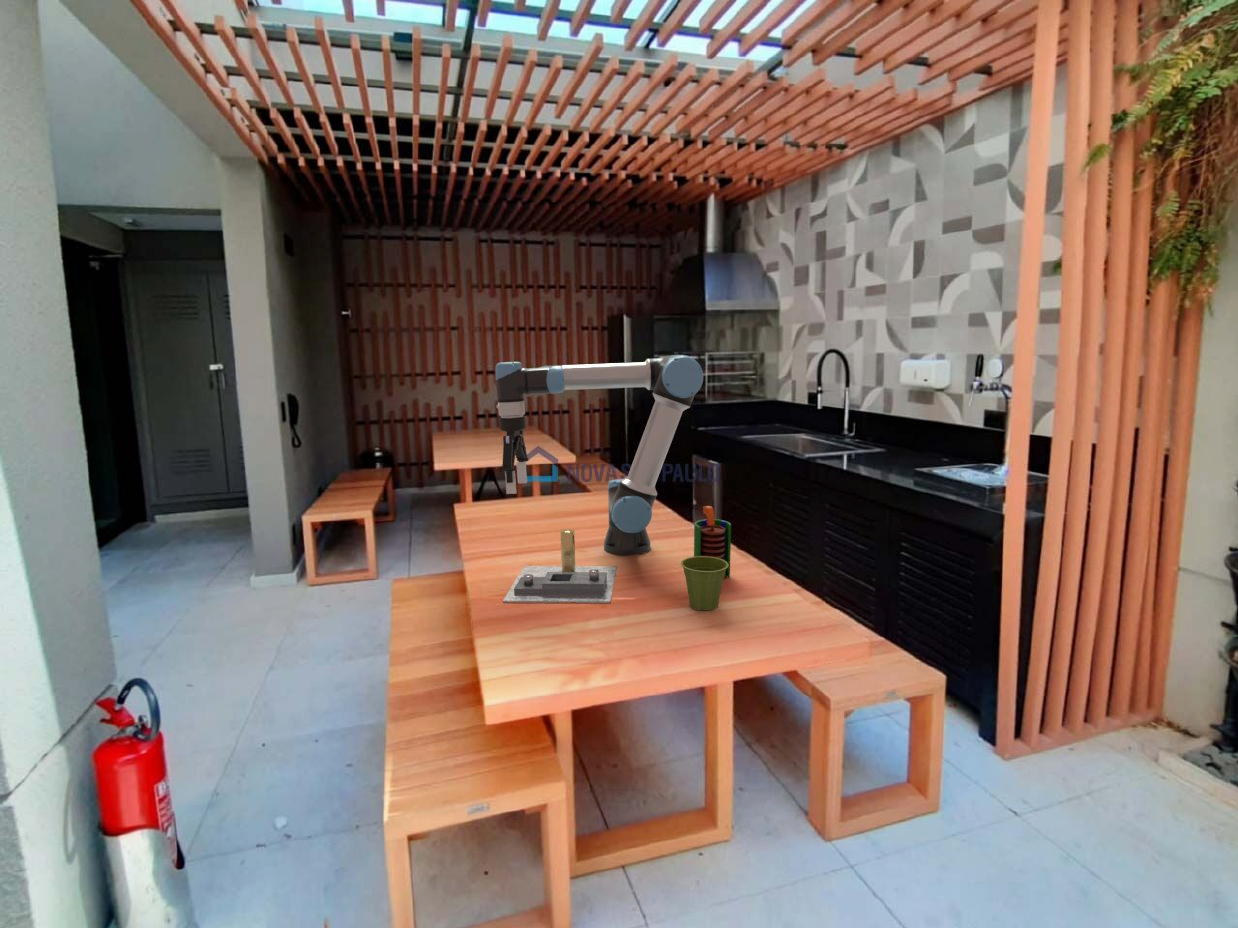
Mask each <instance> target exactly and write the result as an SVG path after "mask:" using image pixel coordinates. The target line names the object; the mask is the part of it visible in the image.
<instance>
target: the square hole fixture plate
mask: <svg viewBox="0 0 1238 928" xmlns="http://www.w3.org/2000/svg"><path fill="white" fill-rule="evenodd" d="M575 569H576V571H575V572H562V565H524V566H523V567H522V569H521V571H520V573H519V574H518V576H517V577H516V578H515V580H514V582H513V583H512V585H511V587H510V588H509V590H508V592H507V593H506V595H505V596H504V598H503V600H502V603H518V604H519V603H522V604H523V603H525V604H526V603H531V604H532V603H535V604H537V603H538V604H543V603H544V604H545V603H546V604H547V603H548V604H553V603H554V604H562V603H561V602H576V603H575V604H611V602H612V594H613V589H614V586H615V585H614V584H615V580H616V576H617V569H618V566H617V565H614V566H613V565H611V566H610V565H609V566H608V565H575ZM550 602H551V603H550ZM557 602H558V603H557ZM577 602H578V603H577Z"/></svg>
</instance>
